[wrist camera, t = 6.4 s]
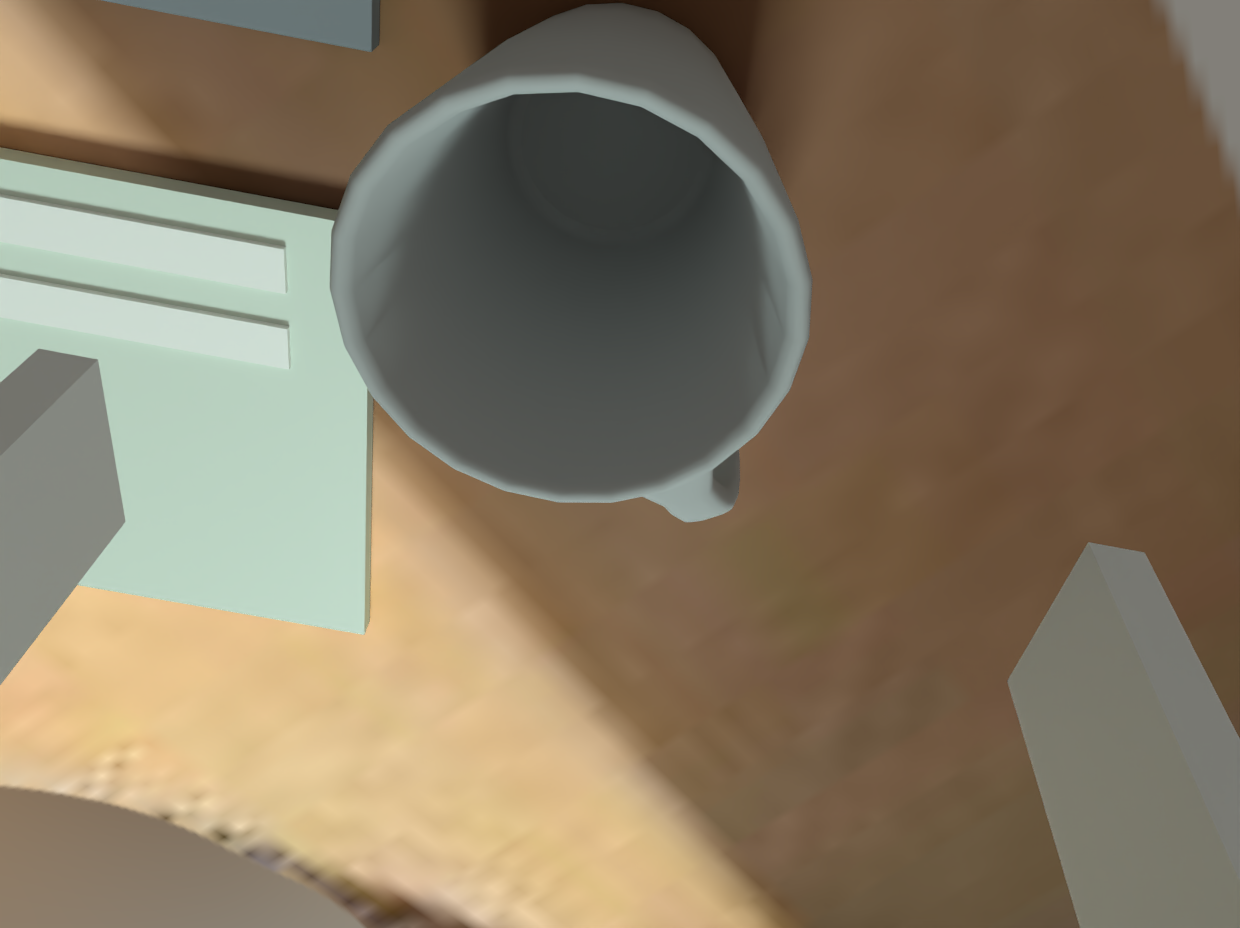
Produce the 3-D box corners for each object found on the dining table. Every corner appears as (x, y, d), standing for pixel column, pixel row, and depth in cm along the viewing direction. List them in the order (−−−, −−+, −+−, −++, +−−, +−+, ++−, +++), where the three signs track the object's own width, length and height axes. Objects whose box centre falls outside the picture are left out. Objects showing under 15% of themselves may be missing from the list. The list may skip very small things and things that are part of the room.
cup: (704, -125, 19) (693, -39, 13) (865, 303, 24) (920, 530, 18) (380, 49, 22) (223, 199, 15) (588, 405, 27) (542, 639, 20)
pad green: (-213, 107, 24) (-238, 117, 23) (376, 217, 24) (367, 229, 24) (-67, 545, 32) (-82, 561, 31) (369, 621, 32) (362, 638, 32)
